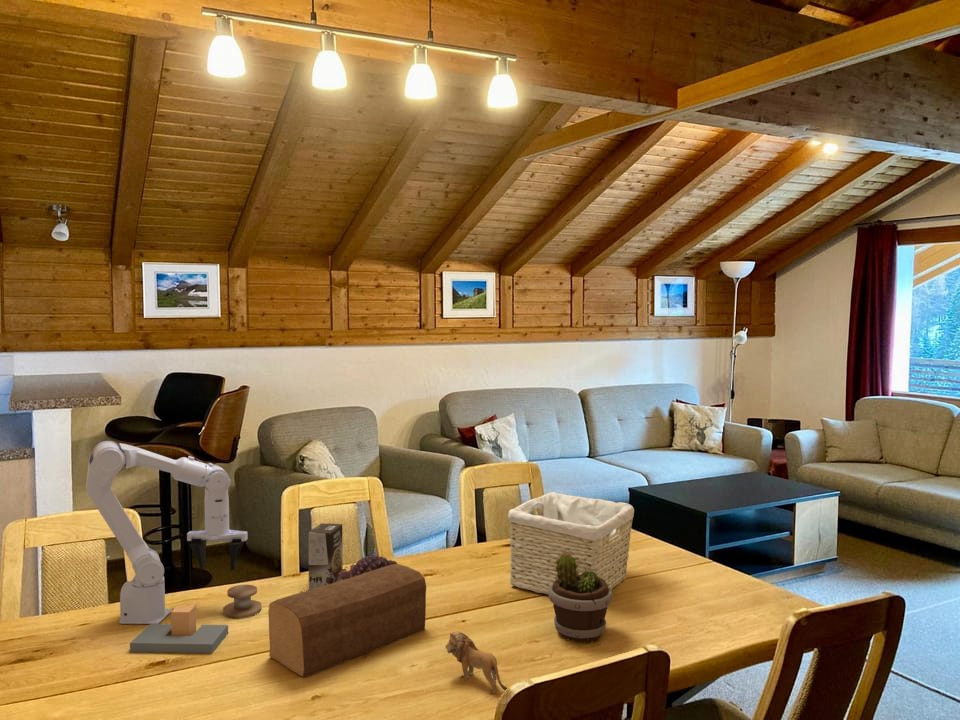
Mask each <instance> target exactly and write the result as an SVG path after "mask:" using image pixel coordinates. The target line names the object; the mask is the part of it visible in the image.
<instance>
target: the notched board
mask: <svg viewBox="0 0 960 720" xmlns="http://www.w3.org/2000/svg"><path fill="white" fill-rule="evenodd" d="M228 634H229V625H228V624H201V625H200V627H198V628H197V629H196V632H195V633H194V634H193V635H192V636H172V628H171V623H159V624H148V626H147V627H146V628H144V629H143V630H142V631H141V632H140V633H139V634H138V635H137V636H136V637H135V638H134V639H133V640H131V642H129V652H130V653H164V652H174V654H175V652H178V653H177V654H179V653H180V652H182V653H181V654H213V653H214V652H215V651H216V650H217V648H218V647H219V646H220V645H221V643H222V642H223V641H224V639H225V638H226V637H227V636H228ZM226 635H227V636H226ZM222 640H223V641H222ZM218 645H219V646H218ZM214 650H215V651H214Z"/></svg>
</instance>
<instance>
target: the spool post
mask: <svg viewBox="0 0 960 720" xmlns="http://www.w3.org/2000/svg"><path fill="white" fill-rule="evenodd" d="M257 593H258V588H257V586H255V585H252V584H240V585H235V586H232V587H229V588H228V589H227V595H226V596H227V597H228V598H231V599H233V601H231V602H229V603H227V604H226V605H224V606H223V608H222V610H223V612H222V613H224V614H223V616H225V617H226V616H228V617H227V618H230V617H232V618H231V619H245V617H246V618H250V617H252V616H255V614H256V615H257V613H258V614H259V613H260V612H261V611H262V603H261V602H260V601H257V600H254V599H252V596H255V595H256V594H257Z"/></svg>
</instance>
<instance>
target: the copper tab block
mask: <svg viewBox="0 0 960 720" xmlns="http://www.w3.org/2000/svg"><path fill="white" fill-rule="evenodd" d="M196 609H197V605H196V604H178V605H176V607H174V609H172V611H171V612H170V614H171V615H170V621H171V623H170V624H171V628H172V636H192V635H193V634H194V633H195V632H196V631H197V610H196Z"/></svg>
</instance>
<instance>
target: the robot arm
mask: <svg viewBox="0 0 960 720" xmlns="http://www.w3.org/2000/svg"><path fill="white" fill-rule="evenodd" d="M136 466H142V467H147V468H150V469H155V470H158V471H162V472H166V473H170V474H171V475H172V478H173V480H175V481H178V482H181V483H182V482H183V483H185V484H189V485H191V486H195V487H199V488H200V487H204V498H203V499H204V530H190V531H188V532H187V533H186V541H187V542H191V543H190V544H189V547H190V549H191V550H192V551H193V553H194V555H195V557H196V559H197V562H198V567H199V569H200V570H201V571H203V570H204V569H205V568H206V567H207V550H206V549H207V542H208V541H230V542H229V543H228V548H229V556H230V564H229V565H230V571H234V570H235V569H236V568H237V563H238V560H239V559H238V558H239V555H240V552H241V550H242V547H243V545H244V543H245V542H246V541H247V540H248V539H249V538H248V537H249V536H248V535H249V534H248V531H247V530H246V531H245V530H235V529H230V506H229V505H230V501H229V500H230V498H229V487H230V486H231V484H232V479H230V475H229V473H228V472H227V471H226V470H225V469H224V468H222V467H221V466H219V465H218V464H213V463H212V462H208V463H206V462H205V463H204V462H201V461H198V460H195V457H194V456H191V455H188V457H185V456H183V457H179V458H178V459H173V458H170V457H167V456H164V455H161V454H159V453H156V452H152V451H149V450H146V449H144V448H140V447H138V446H135V445H130V444H127V443H119V444H118V443H116V441H111V440H105V441H104V440H103V441H101V442H99V443H97V444H96V445H95V446H94V448H93V449H92V452H91V454H90V455H89V458H88V464H87V475H86V483H85V490H86V493H87V495H88V496H89V498H90V500H91V501H92V503H93V504H94V506H95V507H96V509H97V510H98V512H99V513H100V516H102V518H103V520H104V521H105V522H106V524H107V526H108V527H109V529H110V531H111V532H112V534H113V535H114V537H115V538H116V540H117V541H118V543H119V544H120V546H121V548H122V549H123V551H124V552H125V555H127V557H128V559H129V561H130V564H131V567H132V569H133V571H134V573H135V574H134V577H133V579H131V580H127V581H126V582H124V584H123V585H122V586H121V588H120V594H119V603H120V604H119V609H120V610H119V611H120V620H119V622H118V623H119V624H128V625H129V624H130V625H132V624H133V625H138V624H139V625H150V624H161V622H162V621H164V620H165V618H166V617H167V616H168V615H170V614H171V612H172V611H173V609H171V608H166V593H165V592H166V589H165V586H166V585H165V576H164V574H165V567H164V565H163V563H162V562H161V559H160V556H159V554H158V552H156V551H155V550H154V549H151V548H150V547H149V546H148V544H147V543H146V542H145V540H144V539H143V538H142V535H141V534H140V533H139V531H138V529H137V528H136V526H135V524H134V523H133V521H132V520H131V519H130V517H129V516H128V514H127V511H125V509H124V507H123V506H122V505H121V502H120V501H119V499H118V498H117V496H116V495H115V494H114V492H113V490H112V489H111V486H112V484H113V481H114V480H115V476H116V475H118V473H119V472H120V470H122V468H123V467H125V469H129V468H133V467H136Z"/></svg>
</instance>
